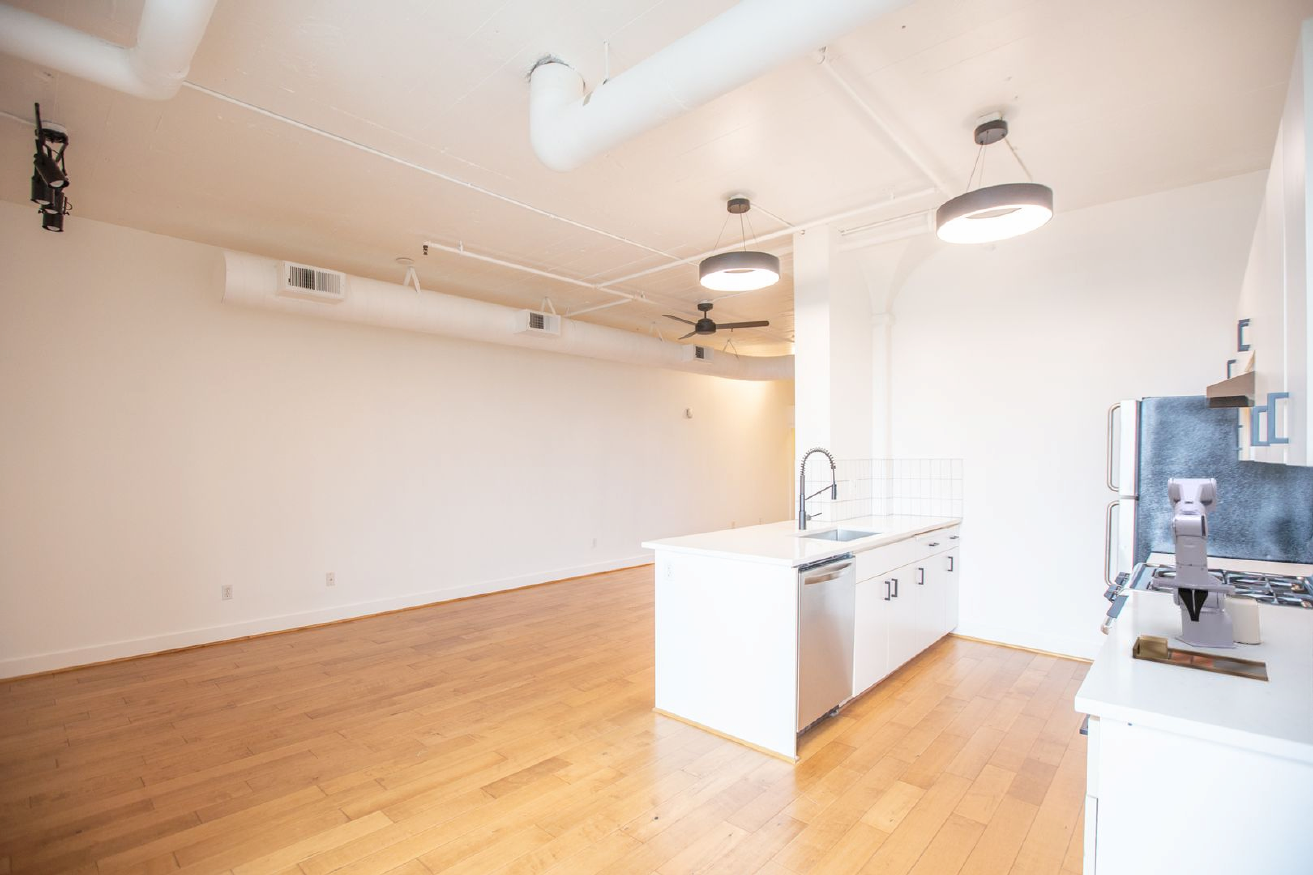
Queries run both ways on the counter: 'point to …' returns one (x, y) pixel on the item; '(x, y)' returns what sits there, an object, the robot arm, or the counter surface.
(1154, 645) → the block
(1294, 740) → the counter surface
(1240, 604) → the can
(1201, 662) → the tray
